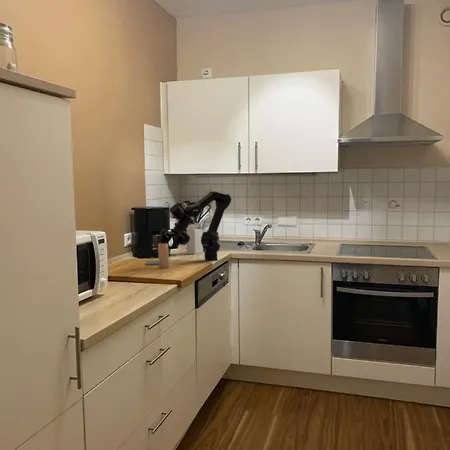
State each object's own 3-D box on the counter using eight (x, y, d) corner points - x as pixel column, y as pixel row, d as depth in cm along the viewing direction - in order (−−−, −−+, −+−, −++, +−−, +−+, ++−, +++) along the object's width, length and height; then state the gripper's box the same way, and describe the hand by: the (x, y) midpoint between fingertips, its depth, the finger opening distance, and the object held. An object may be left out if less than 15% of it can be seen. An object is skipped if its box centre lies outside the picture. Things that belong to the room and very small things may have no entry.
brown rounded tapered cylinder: (168, 267, 241) (168, 243, 240) (168, 268, 237) (168, 244, 235) (159, 267, 241) (158, 243, 240) (158, 269, 236) (158, 244, 235)
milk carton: (194, 252, 294) (193, 222, 293) (203, 253, 290) (202, 222, 288) (186, 253, 289) (185, 223, 287) (195, 254, 284) (194, 223, 283)
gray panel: (167, 261, 260) (167, 259, 260) (167, 264, 249) (167, 263, 249) (147, 262, 259) (147, 260, 259) (146, 265, 248) (146, 263, 248)
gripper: (202, 236, 244) (186, 259, 237) (179, 234, 257) (163, 256, 250) (190, 222, 238) (174, 245, 231) (167, 220, 251) (151, 242, 244)
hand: (165, 248), depth 239 cm, fingers open, 9 cm apart
